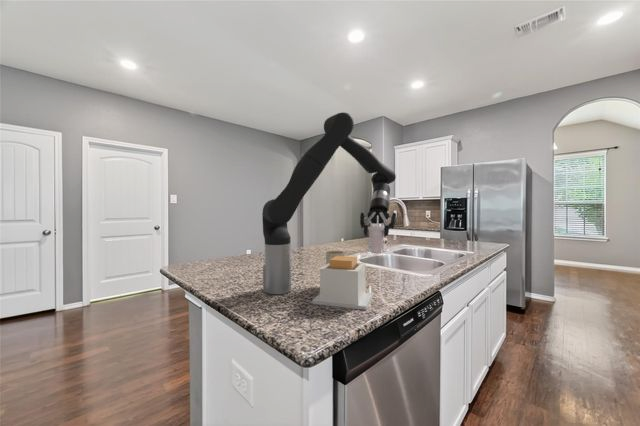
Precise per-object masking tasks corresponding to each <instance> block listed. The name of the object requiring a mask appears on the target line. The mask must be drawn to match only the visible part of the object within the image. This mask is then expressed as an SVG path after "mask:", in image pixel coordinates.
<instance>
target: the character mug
mask: <svg viewBox="0 0 640 426" xmlns="http://www.w3.org/2000/svg"><path fill="white" fill-rule="evenodd" d="M335 256H345V251H342V250H328V251H326V252H325V265H327V264H328V263H330V262H329V260H330V259H332V258H333V257H335Z"/></svg>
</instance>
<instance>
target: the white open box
mask: <svg viewBox="0 0 640 426" xmlns="http://www.w3.org/2000/svg"><path fill="white" fill-rule="evenodd" d="M366 273H367V272H366V263H361V262H357V268H356V269H355V270H346V269H331V268H330V263H328V264H327V265H326V264H324V266H322V267H321V268H319V294H318V295H317V296H315V297H314V298H313V299H312V300H311V303H312V304H313V305H320V306H331V307H337V308H338V307H340V308H346V309H355V310H366V311H367V310H368V308H369V306H370V304H371V302H372V299H373V298H374V293H373V292H366V290H367V289H366V288H367V287H366V285H367V283H366Z"/></svg>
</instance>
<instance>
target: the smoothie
mask: <svg viewBox="0 0 640 426" xmlns="http://www.w3.org/2000/svg"><path fill="white" fill-rule="evenodd" d="M379 225H380V224H379V216H378V215H377V223H376V226H374V225H372V226H370V227H368V236H369V237H368V238H369V243H370V252H371V254H376V255H377V254H382V249H383V241H384V228H385V226H381V225H380V226H379Z"/></svg>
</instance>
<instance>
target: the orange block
mask: <svg viewBox="0 0 640 426" xmlns="http://www.w3.org/2000/svg"><path fill="white" fill-rule="evenodd" d="M329 262H330V268H331V269H346V270H355V269H356V268H357V263H358V258H357V256H347V255H344V256H335V257H333V258H332V259H330V260H329Z"/></svg>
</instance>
